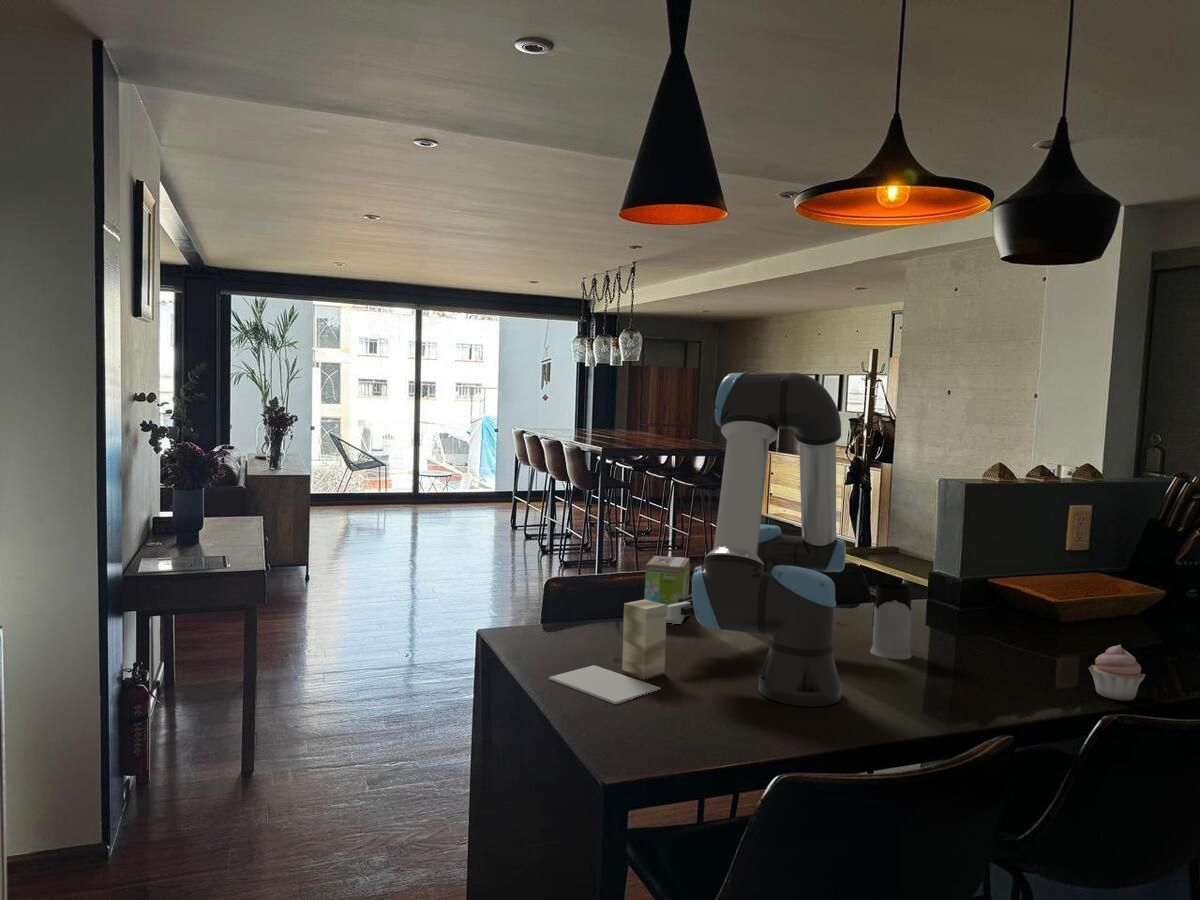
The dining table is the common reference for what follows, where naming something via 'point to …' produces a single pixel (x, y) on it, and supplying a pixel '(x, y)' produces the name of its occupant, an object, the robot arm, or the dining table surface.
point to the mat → (604, 684)
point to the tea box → (667, 581)
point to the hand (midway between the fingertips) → (667, 612)
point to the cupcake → (1116, 674)
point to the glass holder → (892, 622)
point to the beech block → (644, 639)
